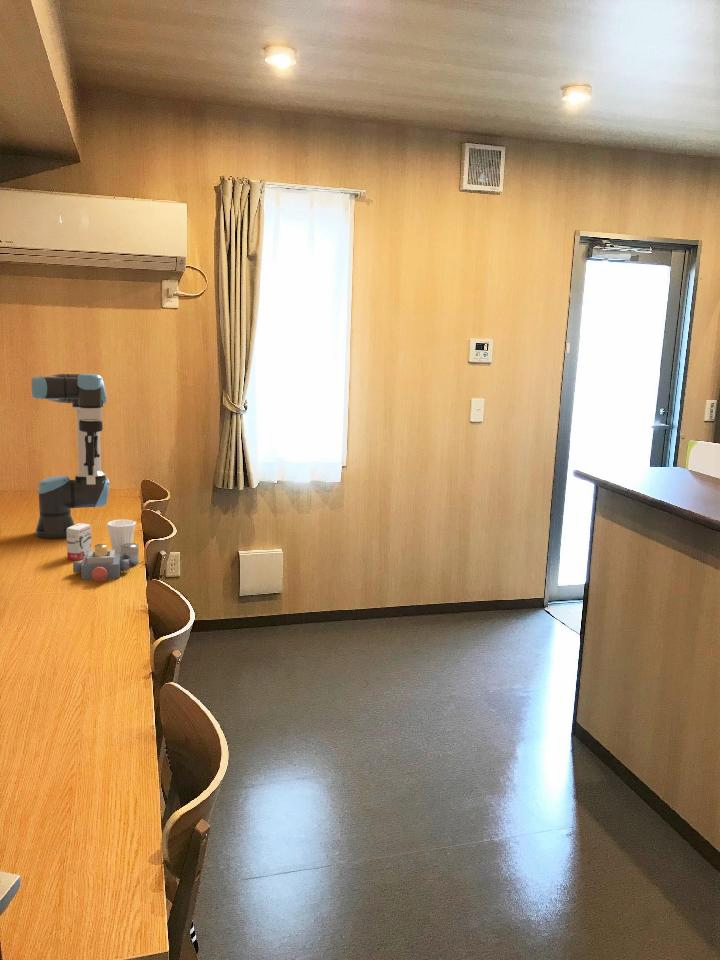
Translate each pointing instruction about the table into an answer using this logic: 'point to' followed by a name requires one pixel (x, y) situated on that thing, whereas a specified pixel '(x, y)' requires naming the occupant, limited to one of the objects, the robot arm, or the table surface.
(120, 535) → the cup
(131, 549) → the steel nipple large
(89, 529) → the ink box
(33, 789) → the table surface
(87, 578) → the valve body
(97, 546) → the brass cylinder
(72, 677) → the table surface
